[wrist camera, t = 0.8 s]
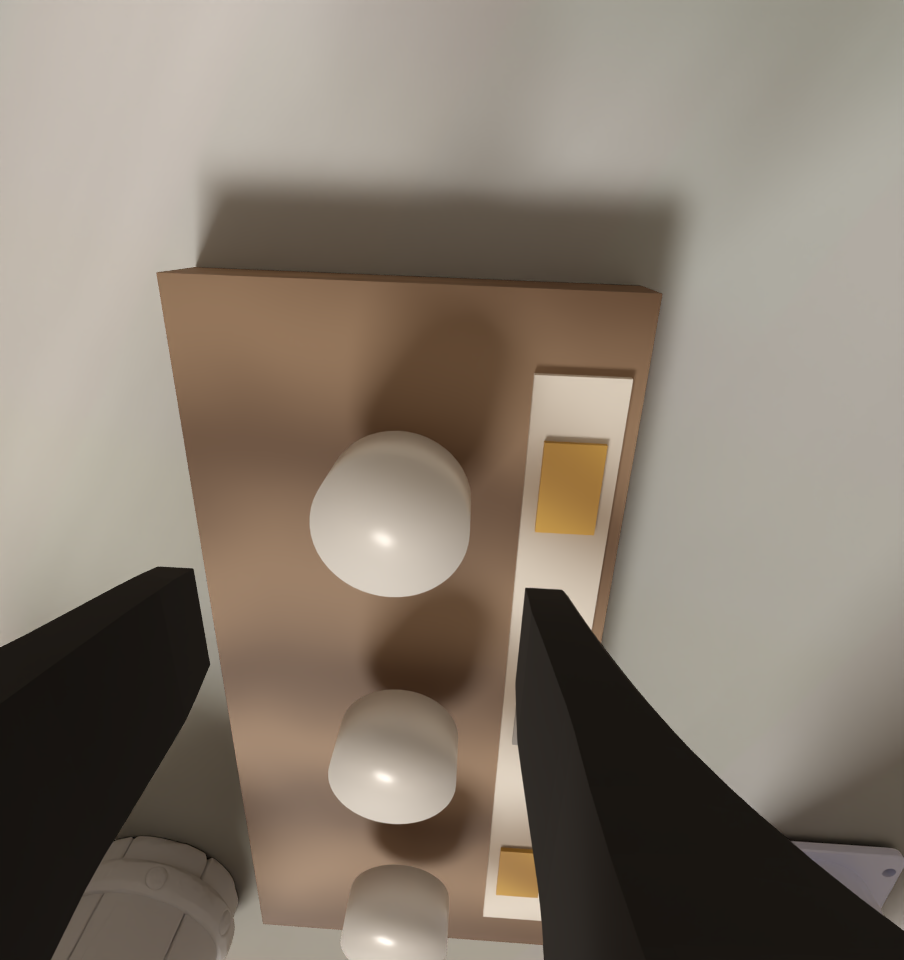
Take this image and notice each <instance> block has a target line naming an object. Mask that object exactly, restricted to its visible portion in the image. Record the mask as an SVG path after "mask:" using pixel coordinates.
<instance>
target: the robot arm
mask: <svg viewBox="0 0 904 960" xmlns="http://www.w3.org/2000/svg"><path fill="white" fill-rule="evenodd" d="M209 666H210V661H209V656H208V650H207V644H206V638H205V632H204V627H203V621H202V615H201V609H200V604H199V598H198V592H197V586H196V581H195V575H194V569H192V568H174V567H156V568H154V569H151V570H149V571H147V572H144V573H142V574H140V575H138V576H136V577H134V578H132V579H130V580H128V581H126V582H124V583H122V584H120V585H118V586H116V587H114V588H113V589H111V590H109V591H107V592H105V593H103V594H101V595H99V596H98V597H96V598H94V599H92V600H90V601H88V602H86V603H84V604H83V605H81V606H79V607H77V608H75V609H73V610H71V611H69V612H68V613H66V614H64V615H62V616H60V617H58V618H56V619H54V620H53V621H51V622H49V623H47V624H45V625H43V626H41V627H39V628H37V629H36V630H34V631H32V632H30V633H28V634H26V635H24V636H22V637H20V638H18V639H16V640H14V641H12V642H10V643H8V644H6V645H4V646H2V647H0V960H51V959H52V957H53V955H54V953H55V950H56V948H57V946H58V944H59V942H60V940H61V938H62V936H63V934H64V932H65V930H66V928H67V926H68V924H69V922H70V920H71V918H72V916H73V914H74V912H75V910H76V908H77V906H78V904H79V902H80V900H81V898H82V896H83V894H84V892H85V890H86V888H87V886H88V884H89V883H90V881H91V879H92V877H93V875H94V874H95V872H96V870H97V868H98V866H99V865H100V863H101V861H102V859H103V857H104V856H105V854H106V852H107V851H108V849H109V847H110V846H111V844H112V843H113V841H114V839H115V838H116V836H117V834H118V833H119V831H120V829H121V828H122V826H123V824H124V823H125V821H126V819H127V818H128V816H129V814H130V813H131V811H132V809H133V808H134V806H135V805H136V803H137V801H138V800H139V798H140V796H141V795H142V793H143V791H144V790H145V788H146V786H147V785H148V783H149V781H150V780H151V778H152V776H153V775H154V773H155V772H156V770H157V768H158V767H159V765H160V763H161V761H162V760H163V758H164V756H165V755H166V753H167V751H168V750H169V748H170V746H171V745H172V743H173V741H174V740H175V738H176V736H177V735H178V733H179V731H180V729H181V728H182V726H183V724H184V722H185V721H186V719H187V716H188V714H189V712H190V710H191V708H192V705H193V703H194V701H195V699H196V697H197V694H198V692H199V690H200V687H201V685H202V683H203V680H204V678H205V675H206V673H207V671H208V668H209ZM515 692H516V723H517V744H518V751H519V759H520V766H521V773H522V780H523V787H524V794H525V801H526V808H527V815H528V822H529V829H530V836H531V843H532V850H533V857H534V864H535V871H536V878H537V885H538V893H539V903H540V912H541V921H542V935H543V952H544V960H904V931H903V930H902V929H901V928H899V927H898V926H897V925H895V924H894V923H893V922H891V921H890V920H889V919H887V918H886V917H885V915H884V914H883V912H882V910H881V908H882V906H883V904H884V902H885V901H886V899H887V897H888V895H889V893H890V892H891V890H892V888H893V886H894V884H895V883H896V881H897V879H898V877H899V875H900V874H901V872H902V870H903V868H904V857H903V855H902V854H901V852H900V851H899V850H897V849H894V848H886V847H872V846H857V845H843V844H828V843H814V842H799V841H790V840H789V839H787V838H786V837H785V836H784V835H783V834H782V833H780V832H779V831H778V830H777V829H776V828H775V827H773V826H772V825H771V824H770V823H769V822H767V821H766V820H765V819H764V818H763V817H762V816H760V815H759V814H758V813H757V812H756V811H755V810H754V809H753V808H752V807H750V806H749V805H748V804H747V803H746V802H745V801H744V800H743V799H742V798H740V797H739V796H738V795H737V794H736V793H735V792H734V791H733V790H732V789H731V788H730V787H729V786H728V785H727V784H726V783H724V782H723V781H722V780H721V779H720V778H719V777H718V776H717V775H716V774H715V773H714V772H713V771H712V770H711V769H710V768H709V767H708V766H707V765H706V764H705V763H704V762H703V761H702V760H701V759H700V758H699V757H698V756H697V755H696V754H695V753H694V752H693V751H692V750H691V749H690V748H689V747H688V746H687V745H686V744H685V743H684V742H683V741H682V740H681V739H680V738H679V737H678V735H677V734H676V733H675V732H674V731H673V730H672V729H671V728H670V727H669V726H668V724H667V723H666V722H665V721H664V720H663V719H662V718H661V717H660V715H659V714H658V713H657V712H656V711H655V710H654V709H653V708H652V706H651V705H650V704H649V703H648V702H647V701H646V699H645V698H644V697H643V696H642V695H641V694H640V692H639V691H638V690H637V689H636V688H635V686H634V685H633V684H632V683H631V681H630V680H629V679H628V678H627V676H626V675H625V674H624V673H623V671H622V670H621V669H620V667H619V666H618V665H617V664H616V662H615V661H614V660H613V659H612V657H611V656H610V655H609V653H608V652H607V651H606V649H605V648H604V647H603V645H602V644H601V643H600V641H599V640H598V639H597V637H596V636H595V634H594V633H593V632H592V630H591V629H590V628H589V626H588V625H587V623H586V622H585V620H584V619H583V618H582V616H581V615H580V613H579V612H578V610H577V609H576V607H575V606H574V604H573V603H572V601H571V600H570V598H569V597H568V595H567V594H566V593H565V592H564V591H563V590H560V589H543V588H525V594H524V604H523V614H522V623H521V633H520V642H519V652H518V662H517V671H516V681H515Z"/></svg>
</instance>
